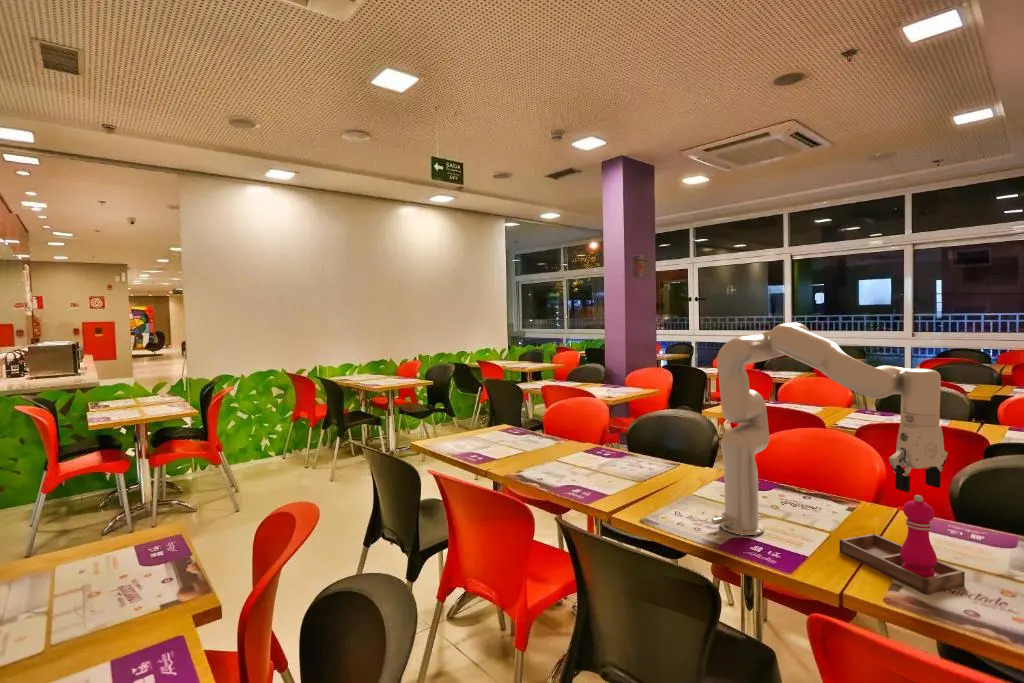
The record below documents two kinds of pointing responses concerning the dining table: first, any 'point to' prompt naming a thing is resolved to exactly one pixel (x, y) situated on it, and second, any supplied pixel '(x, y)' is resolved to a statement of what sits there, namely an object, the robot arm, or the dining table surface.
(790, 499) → the dining table surface
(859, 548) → the caddy
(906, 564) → the pepper mill
